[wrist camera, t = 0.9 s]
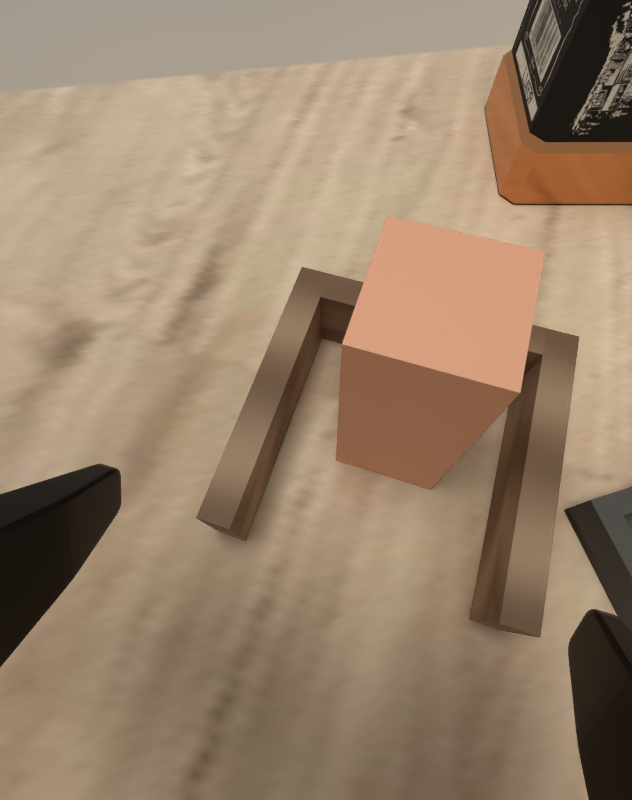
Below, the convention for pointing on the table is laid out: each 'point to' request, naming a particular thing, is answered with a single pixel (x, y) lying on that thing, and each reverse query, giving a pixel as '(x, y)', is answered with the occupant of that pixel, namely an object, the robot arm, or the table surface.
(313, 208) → the table surface
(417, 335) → the block
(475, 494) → the table surface
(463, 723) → the table surface
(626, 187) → the whiskey bottle
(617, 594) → the tray
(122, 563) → the table surface
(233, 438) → the u-shaped frame
